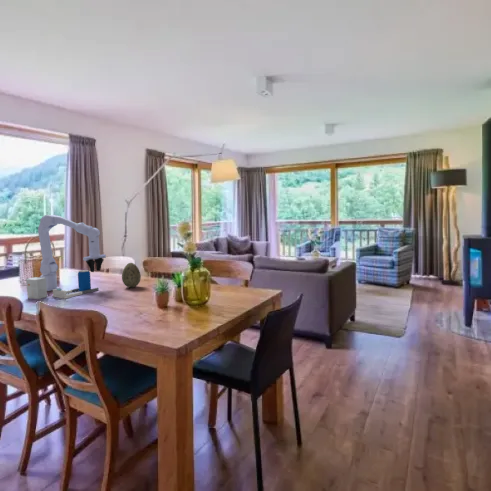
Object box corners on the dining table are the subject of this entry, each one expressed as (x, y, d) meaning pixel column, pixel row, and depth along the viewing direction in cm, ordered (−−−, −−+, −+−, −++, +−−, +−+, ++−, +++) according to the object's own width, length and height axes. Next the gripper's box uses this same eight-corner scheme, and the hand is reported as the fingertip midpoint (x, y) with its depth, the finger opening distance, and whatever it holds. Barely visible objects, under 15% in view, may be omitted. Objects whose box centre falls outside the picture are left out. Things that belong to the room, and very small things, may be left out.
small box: (47, 296, 199) (46, 277, 198) (38, 299, 194) (37, 279, 192) (36, 295, 201) (35, 277, 200) (27, 298, 196) (25, 278, 195)
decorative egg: (133, 284, 228) (132, 261, 227) (144, 286, 222) (143, 262, 221) (118, 288, 219) (117, 263, 218) (130, 290, 213) (129, 264, 212)
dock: (53, 296, 199) (52, 288, 199) (87, 288, 219) (86, 281, 218) (64, 298, 195) (64, 290, 194) (98, 290, 214) (98, 282, 214)
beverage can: (81, 290, 214) (80, 269, 213) (92, 289, 215) (91, 269, 214) (77, 292, 208) (75, 271, 207) (88, 292, 209) (87, 271, 207)
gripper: (88, 250, 208) (89, 273, 209) (108, 247, 221) (109, 269, 222) (80, 249, 211) (81, 272, 212) (100, 247, 224) (101, 269, 225)
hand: (95, 271), depth 217 cm, fingers open, 4 cm apart
